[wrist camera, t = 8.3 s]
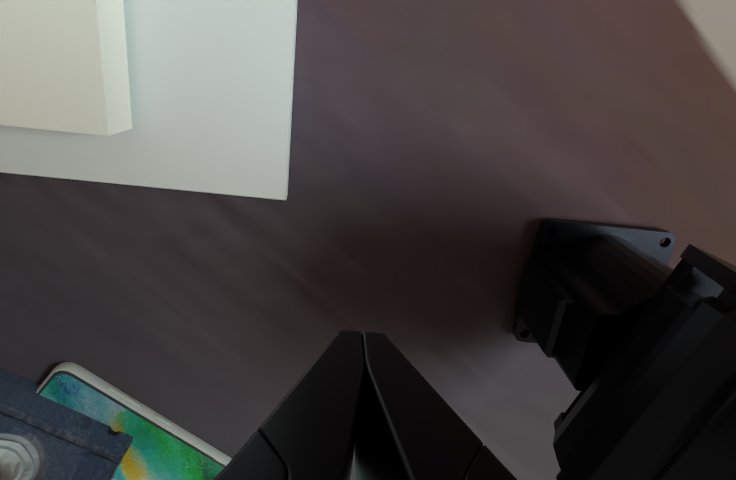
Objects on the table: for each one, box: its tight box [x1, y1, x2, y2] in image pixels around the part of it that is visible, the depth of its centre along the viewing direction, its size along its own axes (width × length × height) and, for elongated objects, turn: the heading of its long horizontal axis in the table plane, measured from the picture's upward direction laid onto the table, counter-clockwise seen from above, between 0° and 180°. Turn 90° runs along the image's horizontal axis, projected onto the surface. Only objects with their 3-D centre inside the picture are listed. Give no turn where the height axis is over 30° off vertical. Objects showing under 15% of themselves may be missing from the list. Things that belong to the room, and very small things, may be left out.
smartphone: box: [36, 362, 232, 480], centre depth 27 cm, size 7×1×15 cm
